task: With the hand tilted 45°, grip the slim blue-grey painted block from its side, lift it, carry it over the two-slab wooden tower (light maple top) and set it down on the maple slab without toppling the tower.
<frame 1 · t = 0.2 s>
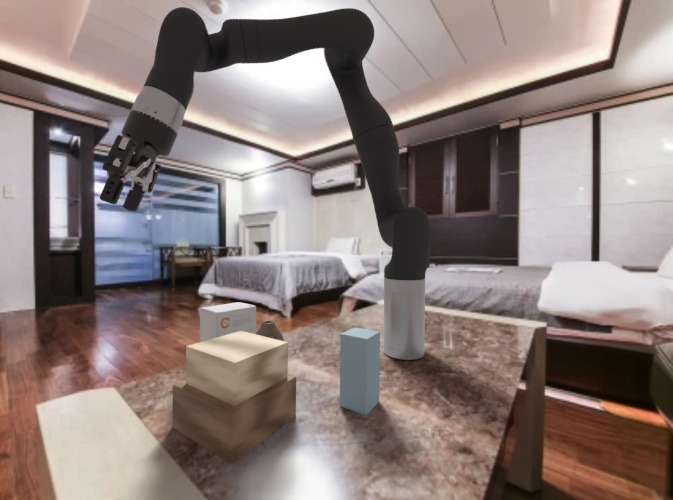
hand: (119, 206, 51), 31 cm above the table, tool tilted 20°, fingers open, 8 cm apart
tower top: (238, 380, 40), point 6 cm above the table, touching tower base
block: (359, 403, 45), on the table
small box: (228, 377, 55), on the table
vase: (267, 365, 60), on the table
tower base: (236, 423, 40), on the table, touching tower top
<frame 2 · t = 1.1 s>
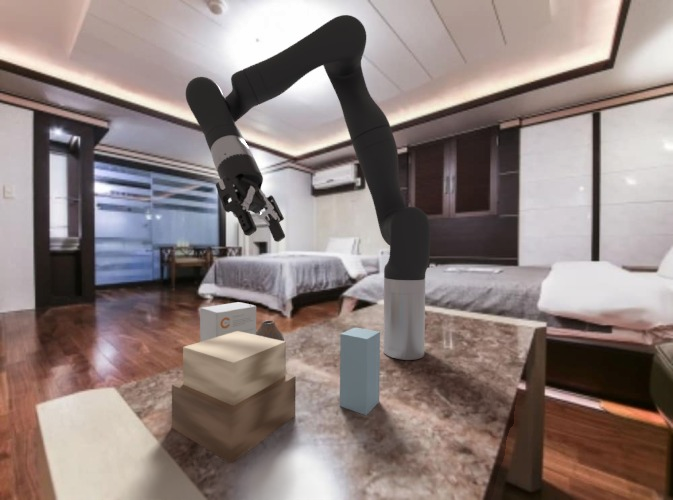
hand: (267, 236, 53), 26 cm above the table, tool tilted 30°, fingers open, 8 cm apart
nothing on the table moved.
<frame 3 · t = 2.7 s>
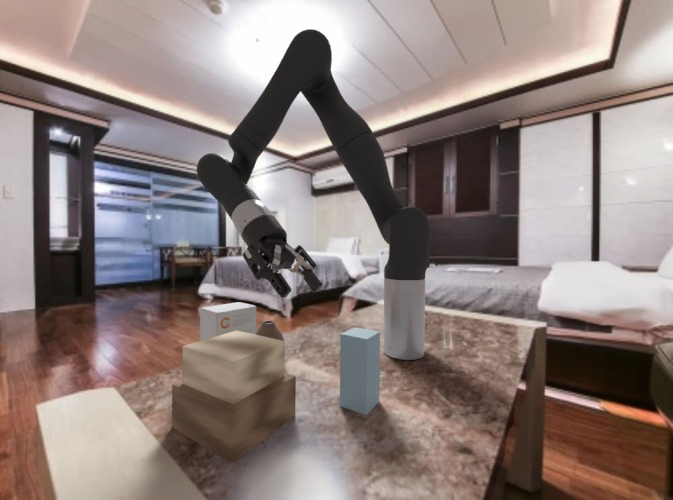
hand: (303, 291, 51), 16 cm above the table, tool tilted 45°, fingers open, 8 cm apart
nothing on the table moved.
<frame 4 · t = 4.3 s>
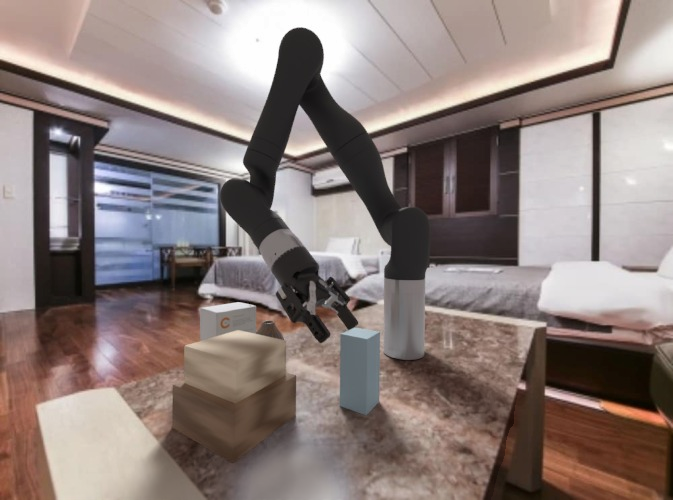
hand: (341, 333, 47), 10 cm above the table, tool tilted 45°, fingers open, 8 cm apart
nothing on the table moved.
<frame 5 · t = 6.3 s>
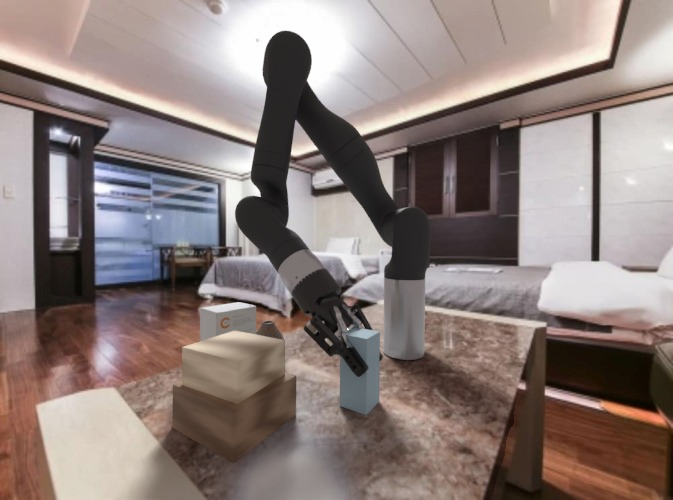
hand: (371, 366, 44), 6 cm above the table, tool tilted 45°, fingers closed on block, 4 cm apart
tower top: (235, 379, 40), point 6 cm above the table
block: (359, 403, 45), on the table, touching gripper
tower base: (236, 423, 40), on the table
everything else where it was.
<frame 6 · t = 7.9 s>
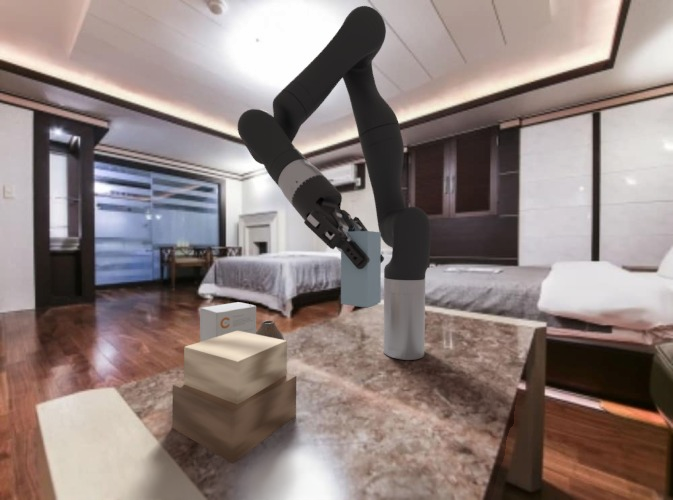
hand: (372, 263, 44), 22 cm above the table, tool tilted 45°, fingers closed on block, 4 cm apart
tower top: (237, 379, 40), point 6 cm above the table, touching tower base
block: (361, 303, 45), point 16 cm above the table, touching gripper
tower base: (236, 423, 40), on the table, touching tower top
everything else where it was.
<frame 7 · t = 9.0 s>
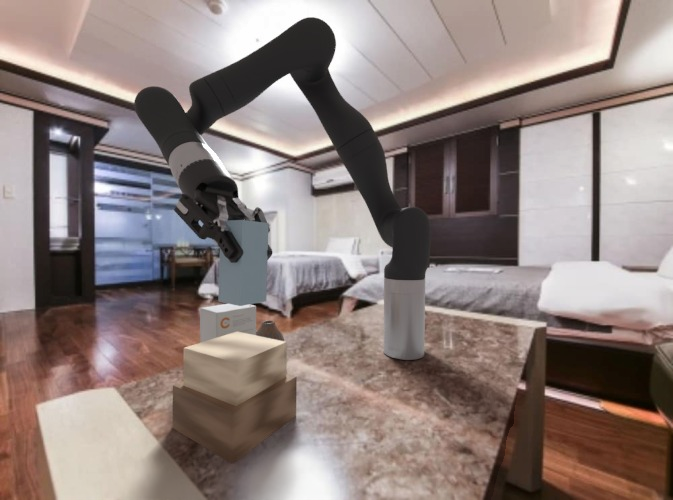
hand: (253, 257, 39), 23 cm above the table, tool tilted 45°, fingers closed on block, 4 cm apart
block: (242, 301, 40), point 16 cm above the table, touching gripper
everything else where it was.
when the fingers open (18 cm above the table, at t = 10.5 s): block drops 1 cm, point 11 cm above the table.
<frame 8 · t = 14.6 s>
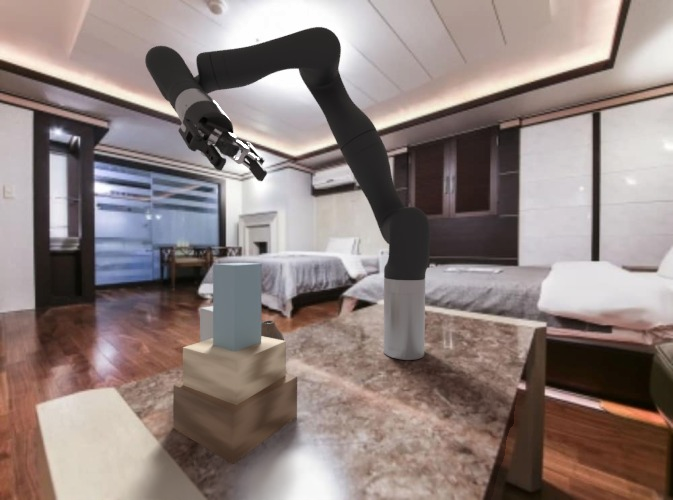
hand: (244, 171, 49), 37 cm above the table, tool tilted 45°, fingers open, 8 cm apart
block: (237, 343, 40), point 11 cm above the table
everything else where it was.
at the end: block inside the target area on the tower top (0.2 cm from its centre), point 5.0 cm above the tower top's base; block tilted 1°; tower top inside the target area (0.0 cm from its centre), point 5.6 cm above the table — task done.
